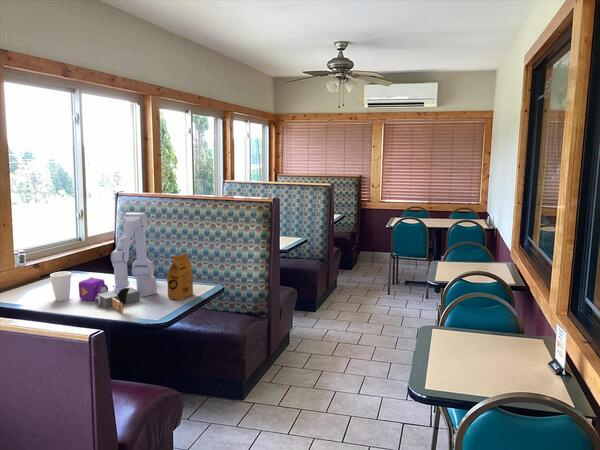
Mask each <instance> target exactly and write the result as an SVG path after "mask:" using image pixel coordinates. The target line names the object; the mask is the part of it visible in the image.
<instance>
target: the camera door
mask: <svg viewBox="0 0 600 450" xmlns="http://www.w3.org/2000/svg"><path fill="white" fill-rule="evenodd" d="M112 308H113V309H115V310H116V311H117V312H119V313H121V314H123V313H124V306H123V303H122V302H120V301H118V300H117V299H115V298H112Z"/></svg>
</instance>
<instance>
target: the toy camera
mask: <svg viewBox="0 0 600 450" xmlns="http://www.w3.org/2000/svg"><path fill="white" fill-rule="evenodd" d="M105 292H109V287H108V285H107V284H106V283H105V280H104V279H103V278H95V277H94V276H91V277H89V278H87V279H83V280H81V281H78V295H79V299H80V300H84V301H90V302H92V301H93V302H94V301H95V298H96V297H97V294H100V293H105Z"/></svg>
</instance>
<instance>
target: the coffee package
mask: <svg viewBox="0 0 600 450" xmlns="http://www.w3.org/2000/svg"><path fill="white" fill-rule="evenodd" d="M171 259H172V263H171V266H170V267H169V270H168V272H167V277H166V280H167V297H168V299H169V300H171V299H172V300H176V301H182V300H184V299H186V298H190V297H191V296H193V295H194V286H193V285H194V282H193V281H194V279H193V278H194V277H193V269H192V263H191V261H190V259H189V257H188V255H187V253H186V252H183V253H182V254H181V255H172V256H171Z"/></svg>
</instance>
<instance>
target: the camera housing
mask: <svg viewBox="0 0 600 450" xmlns="http://www.w3.org/2000/svg"><path fill="white" fill-rule="evenodd" d="M128 288H129V291H128V294H127V298H126V304H123V305H124V306H125V305H129V304H133V303H136V302H137V303H138V302H140V301H141V297H140V291H138V290H137V288H136V289H135V288H133V287H131V286H130V287H129V286H128ZM112 298H115V299H117V300H118V301H119V298H118V296H117V294H114V290H111V291H108V292H105V293H100V294H97V297H96V298H95V300H94V301H95V305H96V306H100V307H102V308H103V309H105V310H106V309H107V310H108V309H111V308H113V307H112Z"/></svg>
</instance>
